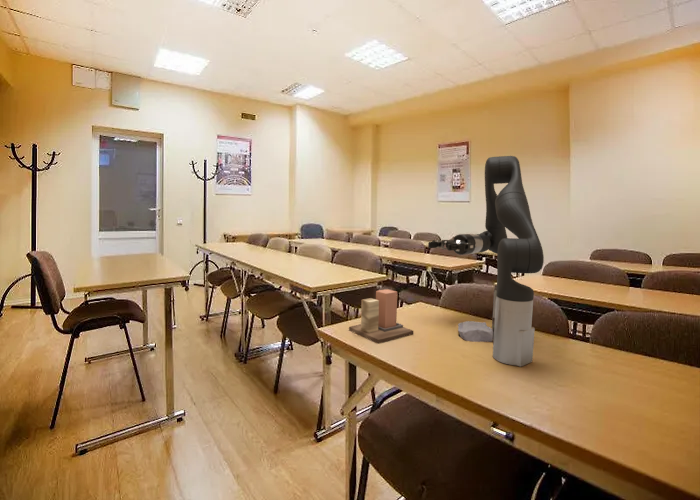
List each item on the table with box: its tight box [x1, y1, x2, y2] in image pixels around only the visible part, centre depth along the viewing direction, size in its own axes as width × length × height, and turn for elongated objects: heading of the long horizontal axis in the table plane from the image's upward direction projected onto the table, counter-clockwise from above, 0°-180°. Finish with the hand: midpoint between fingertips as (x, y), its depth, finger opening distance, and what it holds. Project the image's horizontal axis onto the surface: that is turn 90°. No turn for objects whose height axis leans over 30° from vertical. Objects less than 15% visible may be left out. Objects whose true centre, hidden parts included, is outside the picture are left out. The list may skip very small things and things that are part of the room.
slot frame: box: [378, 322, 404, 332], centre depth 126 cm, size 8×8×1 cm
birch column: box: [360, 297, 379, 333], centre depth 122 cm, size 4×4×10 cm
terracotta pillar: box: [375, 288, 398, 329], centre depth 126 cm, size 5×5×12 cm
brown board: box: [348, 323, 414, 345], centre depth 124 cm, size 15×15×1 cm
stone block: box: [457, 320, 494, 343], centre depth 122 cm, size 12×5×10 cm
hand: (438, 246), depth 129 cm, fingers open, 8 cm apart
